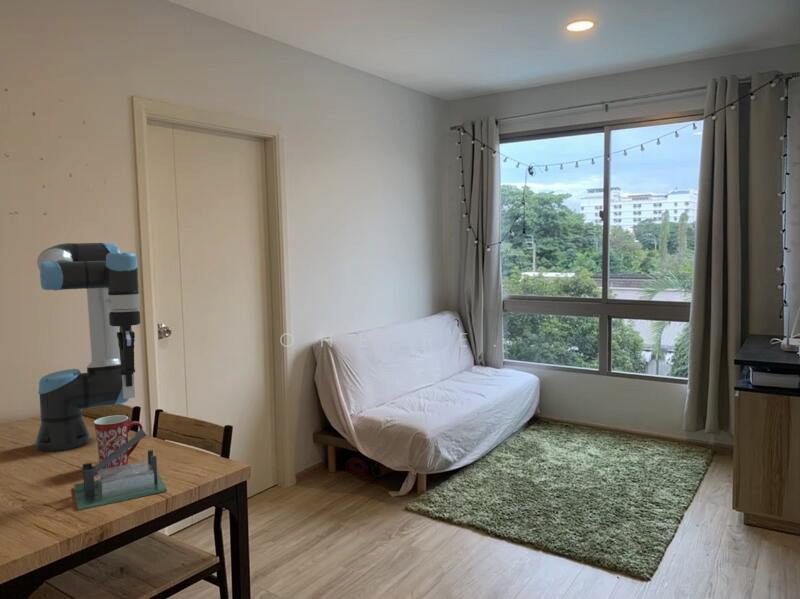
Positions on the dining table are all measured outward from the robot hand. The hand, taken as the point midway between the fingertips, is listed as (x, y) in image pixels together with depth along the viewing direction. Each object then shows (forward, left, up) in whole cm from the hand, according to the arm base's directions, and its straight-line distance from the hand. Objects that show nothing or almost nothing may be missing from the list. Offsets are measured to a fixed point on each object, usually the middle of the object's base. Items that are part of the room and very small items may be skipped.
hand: (129, 397), depth 160 cm
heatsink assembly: (+8, -4, -22) cm, 24 cm away
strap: (+8, -4, -13) cm, 16 cm away
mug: (-13, -2, -22) cm, 26 cm away
